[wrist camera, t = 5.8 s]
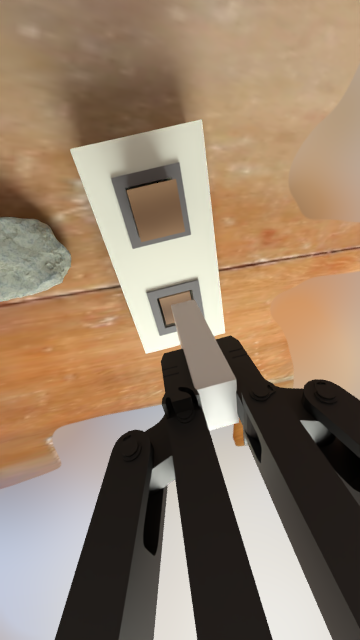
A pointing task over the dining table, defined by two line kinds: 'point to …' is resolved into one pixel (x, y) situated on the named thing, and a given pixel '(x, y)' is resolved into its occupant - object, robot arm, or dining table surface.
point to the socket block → (166, 252)
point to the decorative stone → (29, 258)
